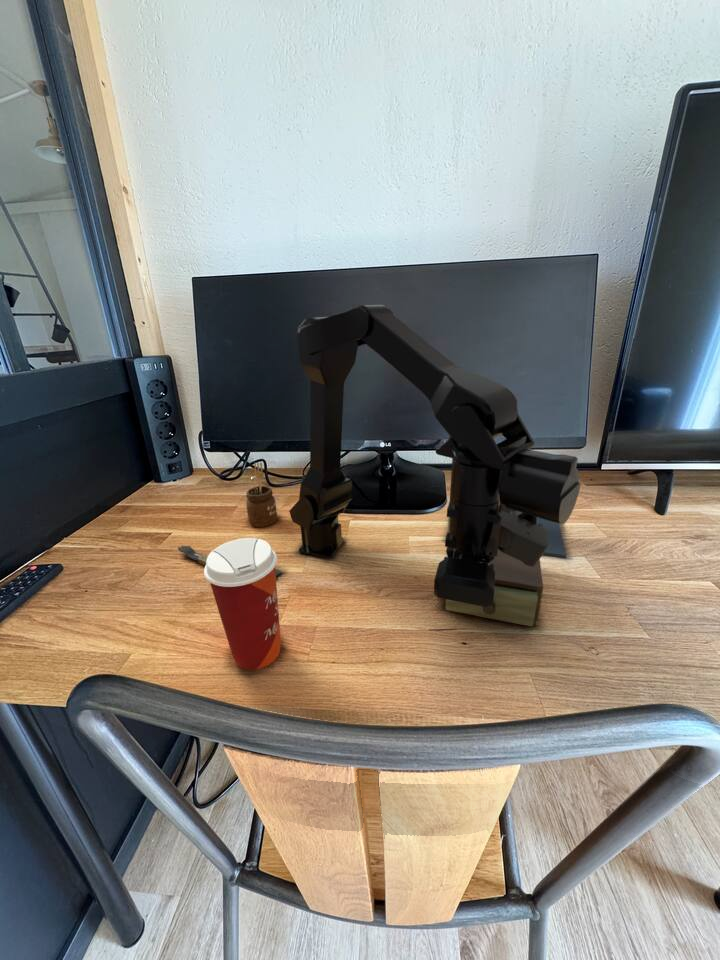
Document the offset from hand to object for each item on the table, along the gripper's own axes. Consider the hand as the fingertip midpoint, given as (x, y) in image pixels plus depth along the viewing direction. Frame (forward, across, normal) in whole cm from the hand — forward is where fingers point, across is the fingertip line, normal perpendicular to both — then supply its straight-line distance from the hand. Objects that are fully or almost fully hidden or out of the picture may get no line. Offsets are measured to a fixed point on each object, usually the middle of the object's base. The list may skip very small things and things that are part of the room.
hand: (465, 601), depth 53 cm
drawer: (+3, +7, -3) cm, 8 cm away
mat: (+4, +28, -5) cm, 28 cm away
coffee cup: (+4, -12, +25) cm, 28 cm away
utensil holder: (+4, +19, +43) cm, 47 cm away
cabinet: (+4, +10, -3) cm, 11 cm away
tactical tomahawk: (+4, +3, +41) cm, 41 cm away
